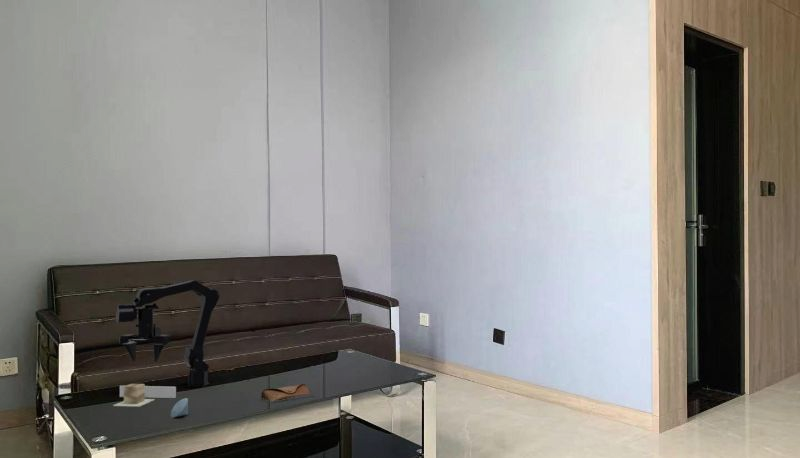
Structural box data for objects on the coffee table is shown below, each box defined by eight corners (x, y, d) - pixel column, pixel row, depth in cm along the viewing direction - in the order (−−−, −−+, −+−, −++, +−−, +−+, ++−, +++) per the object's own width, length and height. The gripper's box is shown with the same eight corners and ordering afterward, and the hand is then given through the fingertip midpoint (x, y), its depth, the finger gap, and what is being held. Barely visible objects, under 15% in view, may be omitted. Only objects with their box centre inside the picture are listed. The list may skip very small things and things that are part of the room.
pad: (154, 400, 227) (154, 399, 227) (139, 406, 217) (139, 405, 217) (129, 399, 228) (129, 398, 228) (113, 406, 218) (113, 405, 218)
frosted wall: (175, 397, 230) (175, 386, 231) (174, 398, 230) (174, 387, 230) (120, 396, 233) (120, 385, 234) (119, 396, 233) (119, 386, 233)
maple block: (144, 400, 225) (144, 384, 225) (136, 404, 220) (136, 387, 220) (131, 400, 225) (131, 383, 226) (123, 403, 220) (123, 386, 221)
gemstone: (194, 401, 210) (183, 392, 208) (198, 409, 204) (187, 400, 202) (177, 419, 208) (166, 410, 206) (181, 428, 202) (169, 419, 200)
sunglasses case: (270, 403, 220) (266, 385, 223) (263, 409, 225) (259, 392, 228) (315, 396, 231) (311, 379, 234) (308, 402, 235) (304, 385, 238)
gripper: (178, 318, 247) (178, 358, 246) (134, 318, 249) (134, 357, 249) (164, 322, 236) (163, 363, 235) (118, 321, 238) (118, 362, 238)
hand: (145, 361), depth 240 cm, fingers open, 9 cm apart
